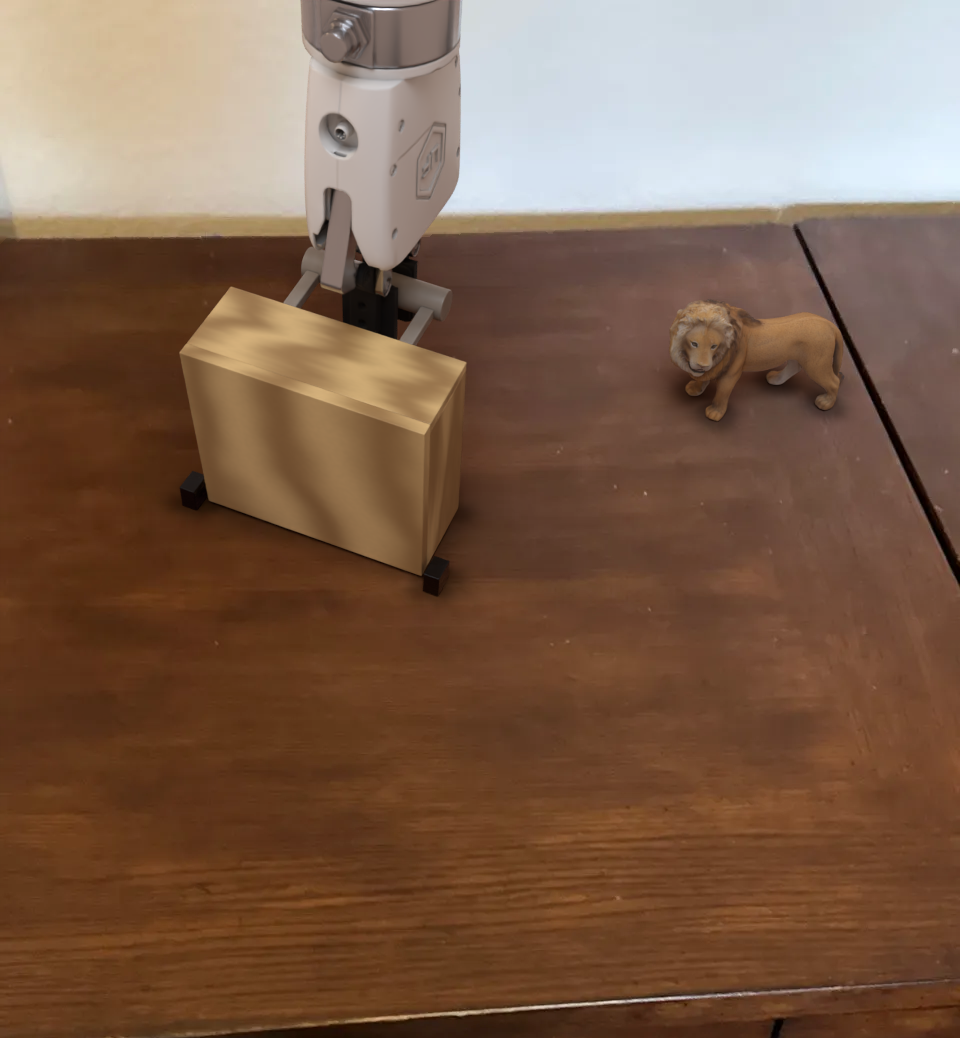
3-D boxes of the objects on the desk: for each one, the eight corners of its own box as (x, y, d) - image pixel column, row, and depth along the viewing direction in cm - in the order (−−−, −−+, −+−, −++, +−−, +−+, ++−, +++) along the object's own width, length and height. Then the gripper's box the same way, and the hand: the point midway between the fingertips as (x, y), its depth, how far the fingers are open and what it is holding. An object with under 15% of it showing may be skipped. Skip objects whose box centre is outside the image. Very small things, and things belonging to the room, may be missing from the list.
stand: (182, 505, 77) (179, 487, 76) (195, 488, 78) (192, 470, 76) (437, 596, 74) (439, 579, 73) (448, 578, 75) (449, 560, 74)
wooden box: (177, 344, 66) (269, 226, 72) (208, 500, 77) (286, 387, 82) (424, 426, 64) (500, 297, 69) (421, 576, 74) (487, 454, 80)
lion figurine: (669, 446, 83) (697, 338, 76) (636, 393, 86) (660, 285, 79) (858, 405, 87) (903, 299, 80) (821, 356, 90) (860, 250, 83)
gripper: (384, 110, 53) (381, 430, 68) (516, -41, 63) (489, 269, 77) (227, 65, 55) (257, 389, 69) (379, -76, 64) (378, 235, 78)
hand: (379, 324), depth 73 cm, fingers closed on wooden box, 2 cm apart
